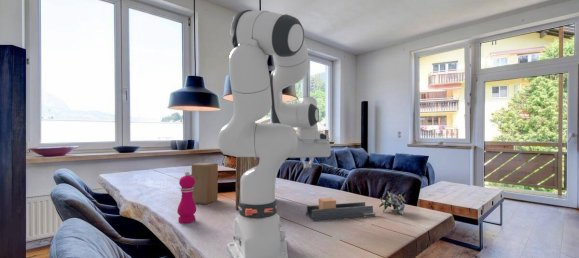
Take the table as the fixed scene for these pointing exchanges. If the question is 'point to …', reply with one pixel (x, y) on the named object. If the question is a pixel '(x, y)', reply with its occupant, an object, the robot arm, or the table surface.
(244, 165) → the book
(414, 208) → the table surface
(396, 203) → the grey-green leafy rounded clump
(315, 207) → the chute
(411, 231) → the table surface
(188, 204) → the pepper mill
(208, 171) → the wooden block
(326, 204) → the block
